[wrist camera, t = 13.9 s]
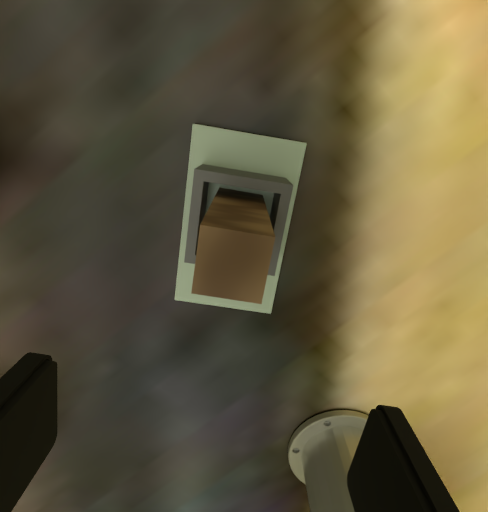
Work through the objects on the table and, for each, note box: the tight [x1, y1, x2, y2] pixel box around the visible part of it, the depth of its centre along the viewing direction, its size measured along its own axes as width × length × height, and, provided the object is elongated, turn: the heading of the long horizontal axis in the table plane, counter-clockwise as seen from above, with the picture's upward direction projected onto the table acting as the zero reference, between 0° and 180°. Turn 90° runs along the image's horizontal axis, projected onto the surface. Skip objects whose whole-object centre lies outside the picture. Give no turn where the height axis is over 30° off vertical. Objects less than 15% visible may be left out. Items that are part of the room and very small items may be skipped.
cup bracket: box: [175, 124, 307, 314], centre depth 30 cm, size 10×17×6 cm, turn 171°
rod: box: [191, 187, 275, 304], centre depth 25 cm, size 4×4×14 cm
